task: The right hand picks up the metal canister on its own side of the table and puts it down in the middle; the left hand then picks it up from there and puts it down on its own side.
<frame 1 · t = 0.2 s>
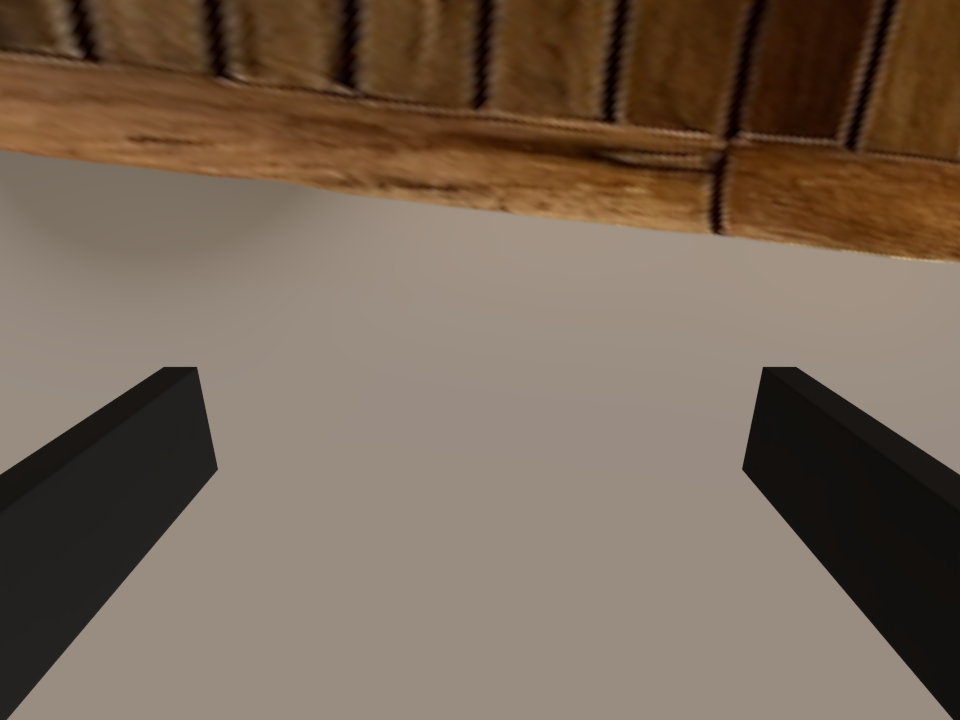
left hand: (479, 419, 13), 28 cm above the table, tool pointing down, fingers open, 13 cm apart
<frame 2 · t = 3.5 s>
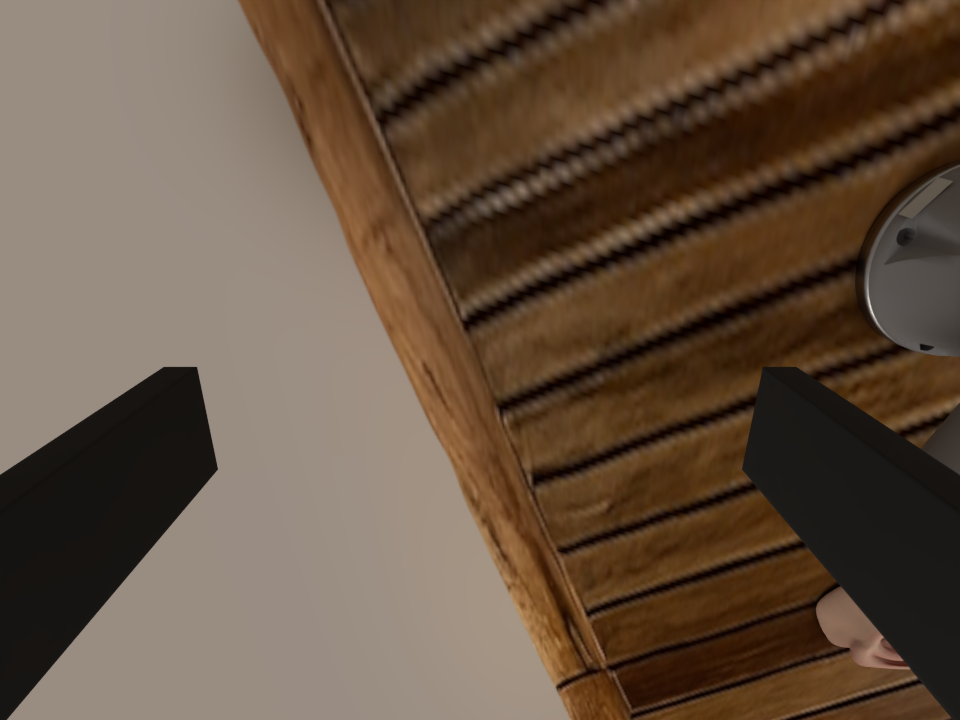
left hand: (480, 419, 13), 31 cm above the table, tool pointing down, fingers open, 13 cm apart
anatomical model: (878, 611, 56), on the table
when the right hand's fingers open (4 cm above the table, at t = 10.0 s): canister drops 1 cm, on the table.
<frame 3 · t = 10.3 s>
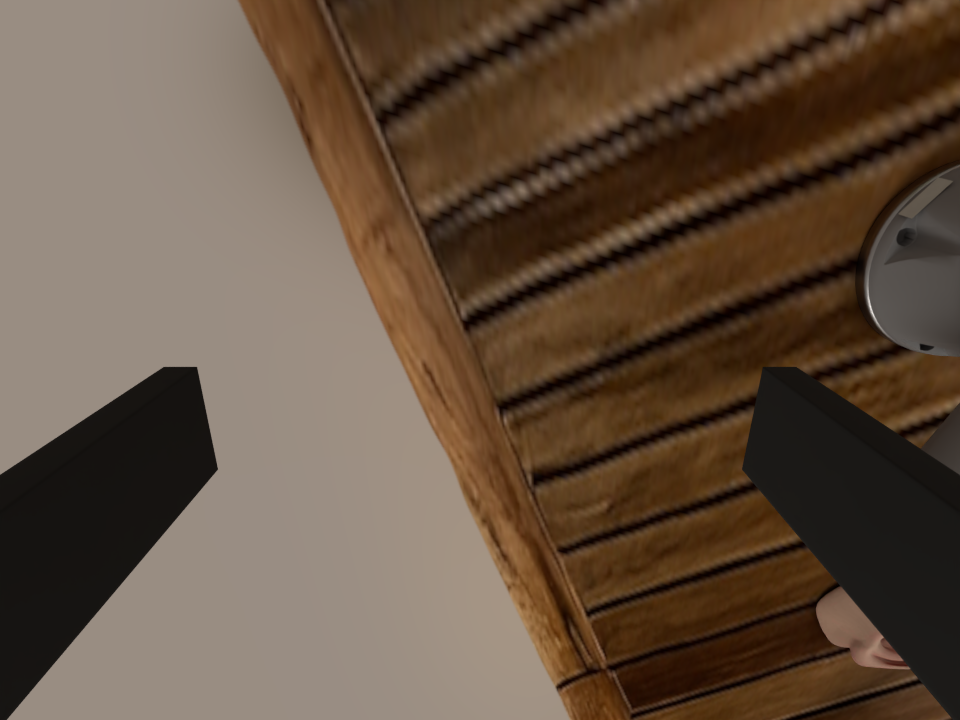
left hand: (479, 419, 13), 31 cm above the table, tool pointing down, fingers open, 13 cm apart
anatomical model: (878, 611, 56), on the table
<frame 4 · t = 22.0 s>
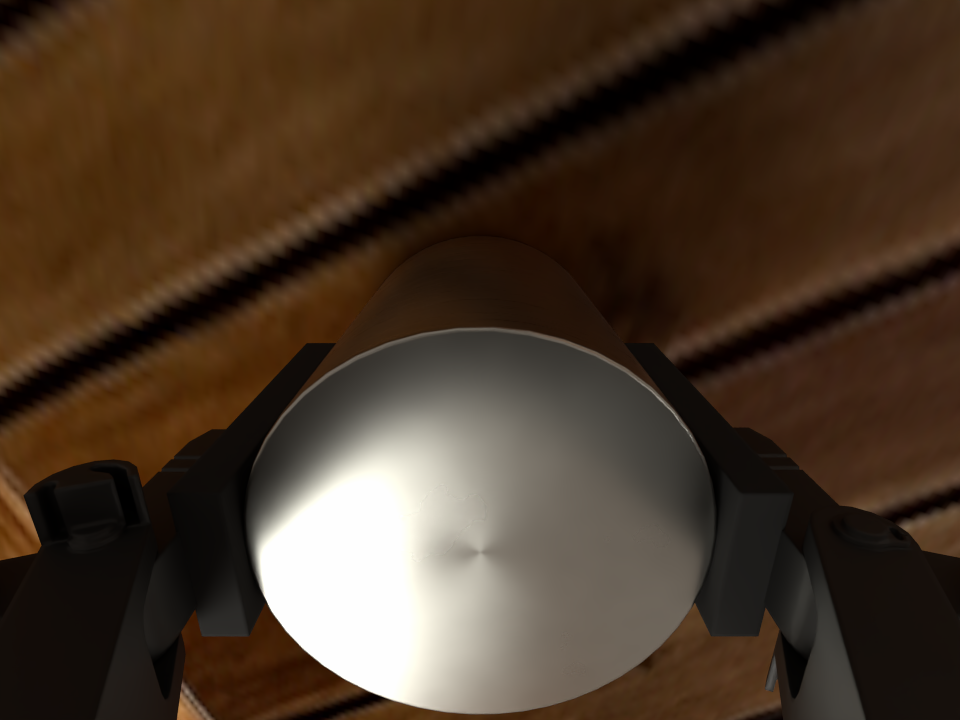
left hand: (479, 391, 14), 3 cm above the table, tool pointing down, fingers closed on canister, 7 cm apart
canister: (480, 354, 17), on the table, touching left hand
when the left hand's fingers open (4 cm above the table, at t = 27.8 s): canister drops 1 cm, on the table.
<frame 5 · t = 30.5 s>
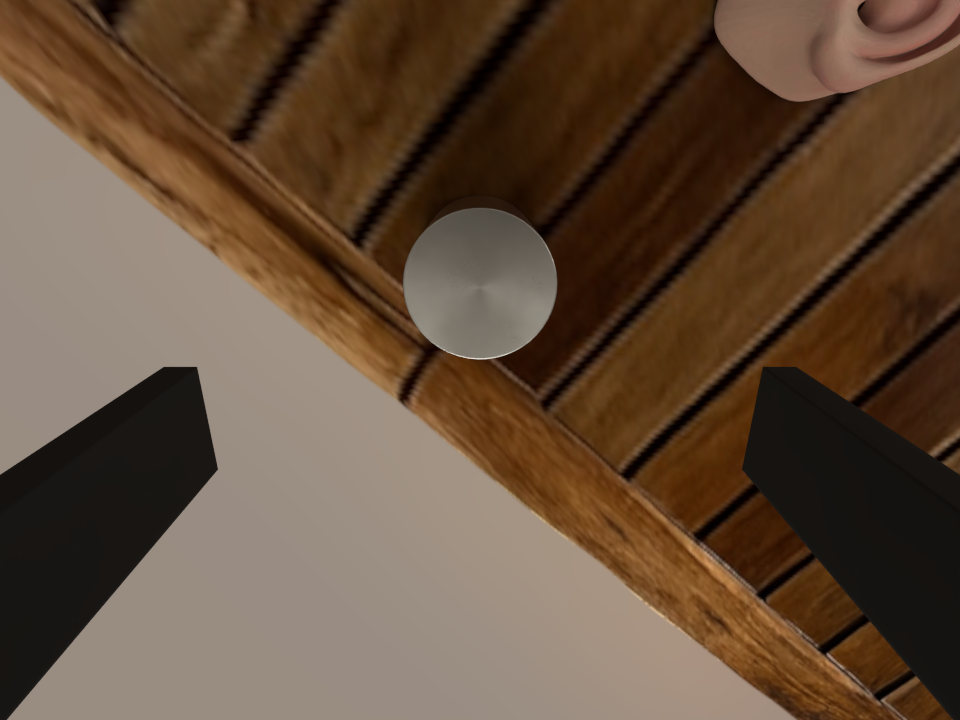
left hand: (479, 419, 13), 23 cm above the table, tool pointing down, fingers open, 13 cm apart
canister: (480, 255, 34), on the table
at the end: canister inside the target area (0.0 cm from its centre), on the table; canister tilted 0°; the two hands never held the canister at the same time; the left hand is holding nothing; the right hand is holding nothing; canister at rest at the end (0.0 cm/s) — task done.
